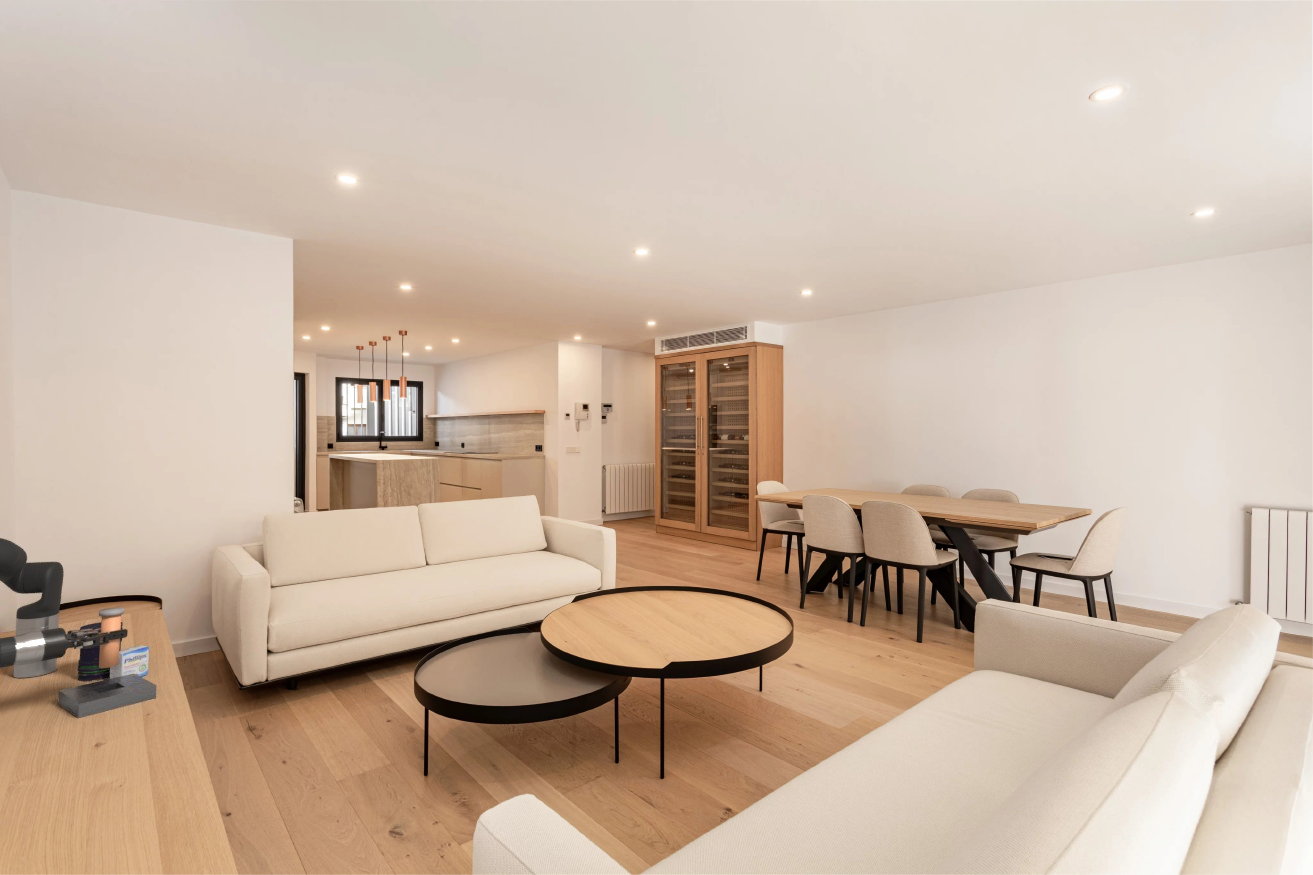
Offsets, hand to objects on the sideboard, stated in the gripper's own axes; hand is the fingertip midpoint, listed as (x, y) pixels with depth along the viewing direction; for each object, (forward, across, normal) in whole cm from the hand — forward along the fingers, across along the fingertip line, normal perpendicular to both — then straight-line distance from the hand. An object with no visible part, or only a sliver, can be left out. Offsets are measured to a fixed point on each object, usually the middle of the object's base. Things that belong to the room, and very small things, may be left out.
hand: (123, 631), depth 170 cm
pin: (-3, 0, +8) cm, 9 cm away
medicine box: (+7, +16, +18) cm, 25 cm away
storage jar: (+3, +26, +18) cm, 32 cm away
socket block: (-3, 0, +18) cm, 18 cm away
